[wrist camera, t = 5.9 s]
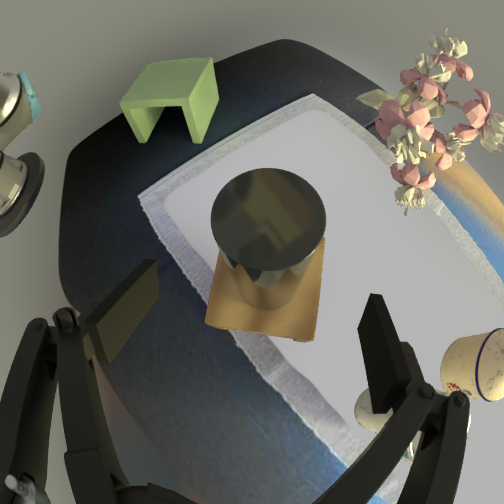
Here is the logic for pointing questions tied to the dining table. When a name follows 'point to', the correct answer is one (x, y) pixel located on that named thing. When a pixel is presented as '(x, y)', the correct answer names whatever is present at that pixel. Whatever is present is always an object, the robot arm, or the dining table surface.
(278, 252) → the dark grey cylinder
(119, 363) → the dining table surface
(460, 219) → the dining table surface
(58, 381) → the robot arm
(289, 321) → the low shelf
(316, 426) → the dining table surface
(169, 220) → the dining table surface
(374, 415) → the beer glass
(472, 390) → the teacup with lid
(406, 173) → the flower
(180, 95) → the green step stool
